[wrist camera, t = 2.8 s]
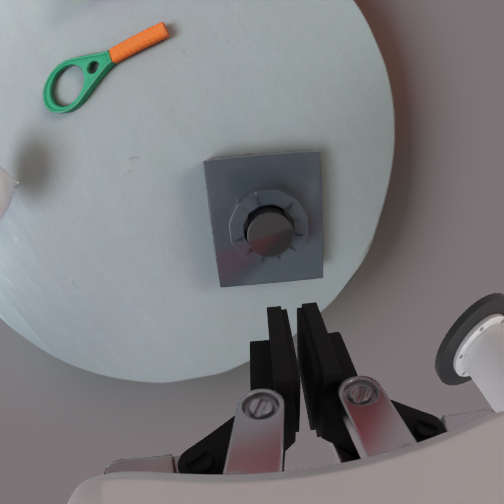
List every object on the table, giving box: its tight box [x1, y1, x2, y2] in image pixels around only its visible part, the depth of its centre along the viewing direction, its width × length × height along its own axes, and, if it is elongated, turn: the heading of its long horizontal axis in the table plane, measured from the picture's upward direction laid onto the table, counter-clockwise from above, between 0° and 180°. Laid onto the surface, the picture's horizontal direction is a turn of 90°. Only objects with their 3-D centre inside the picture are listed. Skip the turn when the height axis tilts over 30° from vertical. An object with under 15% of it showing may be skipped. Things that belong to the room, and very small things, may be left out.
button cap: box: [247, 207, 294, 257], centre depth 24 cm, size 4×4×2 cm
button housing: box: [203, 150, 323, 287], centre depth 27 cm, size 10×12×5 cm
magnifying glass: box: [43, 22, 169, 113], centre depth 22 cm, size 15×6×2 cm, turn 109°
